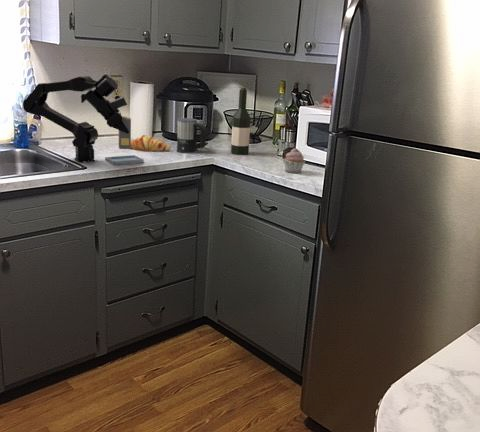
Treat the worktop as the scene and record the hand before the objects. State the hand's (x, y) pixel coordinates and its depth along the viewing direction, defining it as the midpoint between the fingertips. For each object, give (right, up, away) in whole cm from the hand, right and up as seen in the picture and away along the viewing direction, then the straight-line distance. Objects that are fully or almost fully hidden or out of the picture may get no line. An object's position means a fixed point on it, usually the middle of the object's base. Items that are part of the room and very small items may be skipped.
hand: (128, 131), depth 230 cm
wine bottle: (+45, -5, +34) cm, 57 cm away
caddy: (-2, -6, +2) cm, 7 cm away
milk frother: (+23, -4, +35) cm, 42 cm away
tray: (-2, -12, +3) cm, 13 cm away
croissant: (+3, -4, +30) cm, 31 cm away
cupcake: (+67, -16, +4) cm, 69 cm away
